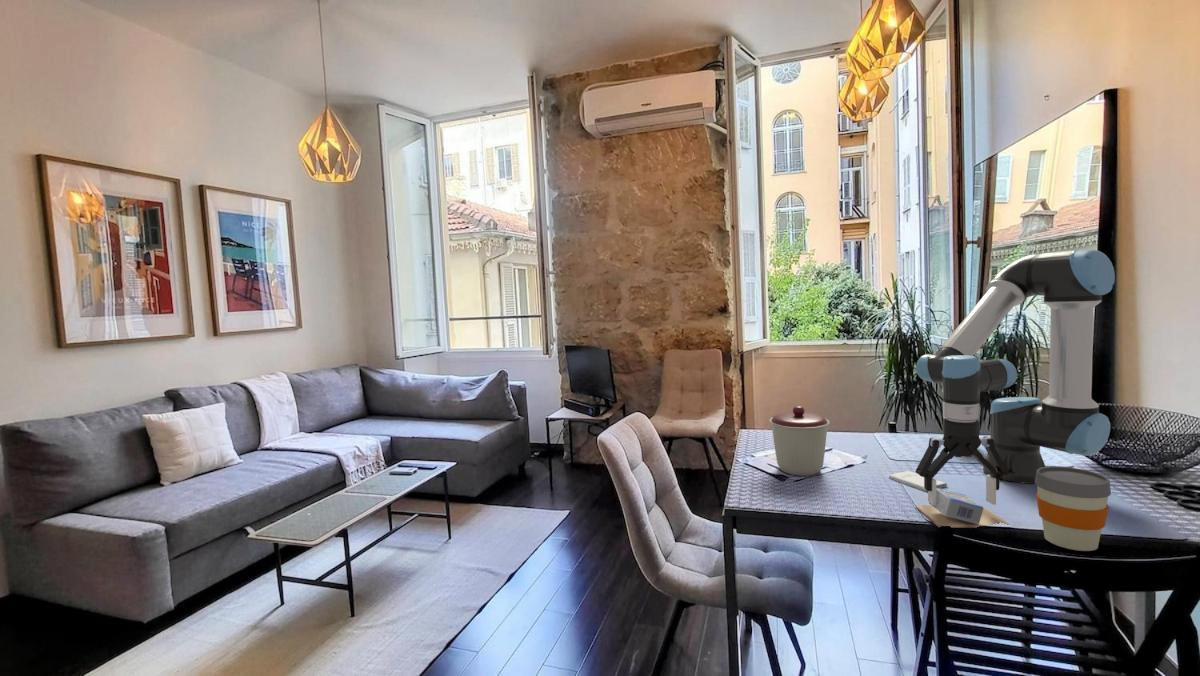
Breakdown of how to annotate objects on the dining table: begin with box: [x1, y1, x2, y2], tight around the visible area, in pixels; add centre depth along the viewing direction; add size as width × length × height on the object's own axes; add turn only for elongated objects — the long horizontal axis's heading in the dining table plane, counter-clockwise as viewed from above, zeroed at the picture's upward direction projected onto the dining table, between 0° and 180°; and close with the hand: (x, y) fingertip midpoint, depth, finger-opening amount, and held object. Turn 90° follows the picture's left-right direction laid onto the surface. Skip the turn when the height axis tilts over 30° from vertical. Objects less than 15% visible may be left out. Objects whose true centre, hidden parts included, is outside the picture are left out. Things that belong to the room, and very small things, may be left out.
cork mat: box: [915, 504, 1010, 529], centre depth 134 cm, size 16×12×1 cm
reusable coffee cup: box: [1034, 466, 1112, 552], centre depth 119 cm, size 13×13×15 cm
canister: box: [768, 405, 830, 477], centre depth 173 cm, size 18×18×21 cm
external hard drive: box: [888, 470, 948, 492], centre depth 158 cm, size 2×8×12 cm
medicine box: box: [928, 488, 983, 524], centre depth 132 cm, size 8×4×9 cm
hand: (961, 502), depth 134 cm, fingers open, 13 cm apart
